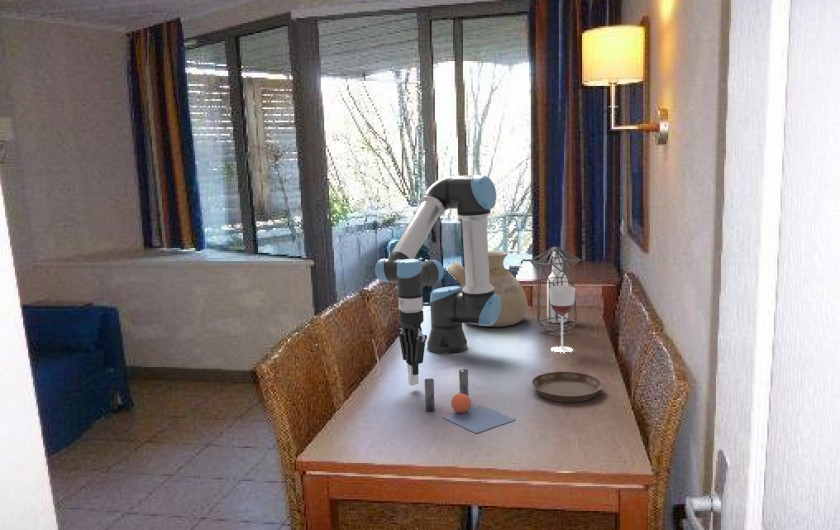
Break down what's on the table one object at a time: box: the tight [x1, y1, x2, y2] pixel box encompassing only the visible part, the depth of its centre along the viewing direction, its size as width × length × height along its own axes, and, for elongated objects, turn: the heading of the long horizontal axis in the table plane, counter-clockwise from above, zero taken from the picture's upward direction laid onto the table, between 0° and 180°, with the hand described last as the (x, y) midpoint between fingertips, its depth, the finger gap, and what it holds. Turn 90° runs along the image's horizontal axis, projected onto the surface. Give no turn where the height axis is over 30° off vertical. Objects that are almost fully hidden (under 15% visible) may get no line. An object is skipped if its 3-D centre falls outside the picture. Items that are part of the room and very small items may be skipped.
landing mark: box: [443, 404, 516, 435], centre depth 184 cm, size 14×14×1 cm
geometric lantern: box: [530, 246, 583, 337], centre depth 266 cm, size 16×16×35 cm
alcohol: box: [546, 251, 569, 324], centre depth 285 cm, size 9×9×30 cm
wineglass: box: [549, 285, 576, 354], centre depth 244 cm, size 9×10×23 cm
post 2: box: [458, 369, 470, 398], centre depth 198 cm, size 3×3×9 cm
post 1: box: [424, 378, 436, 413], centre depth 191 cm, size 3×3×9 cm
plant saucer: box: [531, 371, 603, 403], centre depth 202 cm, size 21×21×3 cm
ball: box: [450, 392, 472, 413], centre depth 188 cm, size 6×6×6 cm
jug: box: [447, 250, 529, 328], centre depth 288 cm, size 29×34×30 cm
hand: (413, 383), depth 208 cm, fingers closed
